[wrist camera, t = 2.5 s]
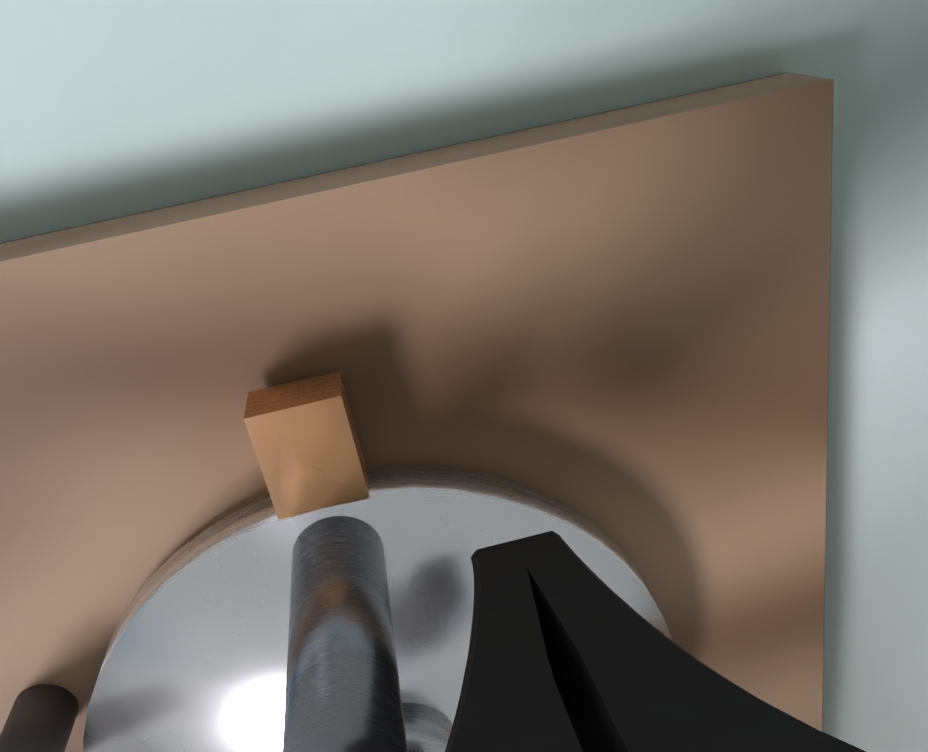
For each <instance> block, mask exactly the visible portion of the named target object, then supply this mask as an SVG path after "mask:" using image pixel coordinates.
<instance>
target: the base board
mask: <svg viewBox="0 0 928 752" xmlns="http://www.w3.org/2000/svg"><path fill="white" fill-rule="evenodd" d="M832 128H833V80H832V79H825V78H819V77H812V76H805V75H798V74H792V73H784V74H780V75H775V76H770V77H766V78H761V79H757V80H752V81H747V82H743V83H738V84H734V85H729V86H724V87H720V88H715V89H710V90H706V91H701V92H697V93H692V94H687V95H683V96H678V97H674V98H669V99H664V100H660V101H655V102H651V103H646V104H641V105H637V106H632V107H628V108H623V109H618V110H614V111H609V112H604V113H600V114H595V115H591V116H586V117H581V118H577V119H572V120H568V121H563V122H558V123H554V124H549V125H545V126H540V127H535V128H531V129H526V130H521V131H517V132H512V133H508V134H503V135H498V136H494V137H489V138H485V139H480V140H475V141H471V142H466V143H462V144H457V145H452V146H448V147H443V148H439V149H434V150H429V151H425V152H420V153H415V154H411V155H406V156H402V157H397V158H392V159H388V160H383V161H379V162H374V163H369V164H365V165H360V166H356V167H351V168H346V169H342V170H337V171H332V172H328V173H323V174H319V175H314V176H309V177H305V178H300V179H296V180H291V181H286V182H282V183H277V184H273V185H268V186H263V187H259V188H254V189H249V190H245V191H240V192H236V193H231V194H226V195H222V196H217V197H213V198H208V199H203V200H199V201H194V202H190V203H185V204H180V205H176V206H171V207H167V208H162V209H157V210H153V211H148V212H143V213H139V214H134V215H130V216H125V217H120V218H116V219H111V220H107V221H102V222H97V223H93V224H88V225H84V226H79V227H74V228H70V229H65V230H60V231H56V232H51V233H47V234H42V235H37V236H33V237H28V238H24V239H19V240H14V241H10V242H5V243H1V244H0V752H84V748H83V737H84V730H85V723H86V716H87V709H88V706H89V703H90V699H91V696H92V693H93V690H94V687H95V684H96V681H97V678H98V675H99V672H100V669H101V666H102V663H103V660H104V657H105V654H106V651H107V648H108V645H109V642H110V639H111V637H112V635H113V633H114V631H115V629H116V627H117V625H118V624H119V622H120V620H121V618H122V616H123V614H124V612H125V610H126V608H127V607H128V606H129V604H130V603H131V602H132V600H133V599H134V598H135V596H136V595H137V594H138V592H139V591H140V590H141V588H142V587H143V586H144V584H145V583H146V582H147V580H148V579H149V578H150V577H151V576H152V575H153V574H154V573H155V572H156V571H157V570H158V569H159V568H160V567H161V566H162V565H163V564H164V563H165V562H166V561H167V560H168V559H169V558H170V557H171V556H172V555H173V554H174V553H175V552H176V551H178V550H179V549H180V548H182V547H183V546H184V545H186V544H187V543H188V542H190V541H191V540H192V539H193V538H195V537H196V536H197V535H199V534H200V533H201V532H203V531H204V530H205V529H207V528H208V527H210V526H212V525H213V524H215V523H217V522H218V521H220V520H222V519H224V518H225V517H227V516H229V515H231V514H232V513H234V512H236V511H237V510H239V509H241V508H243V507H245V506H247V505H249V504H252V503H254V502H256V501H259V500H261V499H263V498H265V497H268V496H270V494H269V491H268V488H267V485H266V482H265V480H264V477H263V474H262V471H261V468H260V465H259V462H258V459H257V456H256V453H255V450H254V448H253V445H252V442H251V439H250V436H249V433H248V430H247V427H246V424H245V421H244V414H245V408H246V403H247V397H248V392H252V391H256V390H260V389H264V388H269V387H273V386H277V385H282V384H286V383H290V382H294V381H299V380H303V379H307V378H311V377H316V376H320V375H324V374H329V373H333V372H337V371H340V373H341V377H342V380H343V384H344V388H345V391H346V395H347V398H348V402H349V406H350V409H351V413H352V416H353V420H354V424H355V427H356V431H357V435H358V438H359V442H360V445H361V449H362V453H363V456H364V460H365V463H366V467H367V470H371V469H385V468H399V467H424V468H447V469H456V470H462V471H468V472H474V473H480V474H486V475H491V476H495V477H498V478H502V479H505V480H508V481H512V482H515V483H519V484H522V485H525V486H528V487H530V488H533V489H535V490H537V491H539V492H542V493H544V494H546V495H548V496H551V497H553V498H555V499H557V500H560V501H561V502H563V503H564V504H566V505H568V506H569V507H571V508H572V509H574V510H576V511H577V512H579V513H580V514H582V515H584V516H585V517H587V518H588V519H590V520H591V521H592V522H593V523H594V524H595V525H597V526H598V527H599V528H600V529H601V530H602V531H604V532H605V533H606V534H607V535H608V536H609V537H611V538H612V539H613V540H614V542H615V543H616V544H617V545H618V546H619V547H620V549H621V550H622V551H623V552H624V553H625V555H626V556H627V557H628V558H629V559H630V560H631V562H632V563H633V565H634V567H635V568H636V570H637V572H638V573H639V575H640V577H641V578H642V580H643V582H644V583H645V585H646V587H647V589H648V590H649V592H650V594H651V596H652V598H653V599H654V601H655V603H656V605H657V606H658V608H659V610H660V612H661V614H662V615H663V617H664V619H665V622H666V624H667V627H668V630H669V633H670V635H671V638H672V641H673V642H675V643H676V644H677V645H679V646H680V647H681V648H683V649H684V650H685V651H687V652H688V653H689V654H691V655H692V656H694V657H695V658H696V659H698V660H699V661H701V662H702V663H704V664H705V665H707V666H708V667H710V668H711V669H713V670H714V671H716V672H717V673H719V674H720V675H722V676H723V677H725V678H726V679H728V680H729V681H731V682H733V683H734V684H736V685H738V686H739V687H741V688H743V689H744V690H746V691H748V692H749V693H751V694H752V695H754V696H756V697H757V698H759V699H761V700H763V701H764V702H766V703H768V704H770V705H772V706H774V707H776V708H778V709H779V710H781V711H783V712H785V713H787V714H789V715H791V716H793V717H795V718H796V719H798V720H800V721H802V722H804V723H806V724H808V725H810V726H812V727H814V728H815V729H817V730H819V731H821V732H822V703H823V646H824V588H825V530H826V473H827V415H828V358H829V300H830V243H831V185H832Z"/></svg>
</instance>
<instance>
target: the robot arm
mask: <svg viewBox="0 0 928 752" xmlns="http://www.w3.org/2000/svg"><path fill="white" fill-rule="evenodd" d="M471 561H472V566H473V575H474V604H473V618H472V627H471V635H470V644H469V651H468V657H467V662H466V668H465V673H464V678H463V683H462V688H461V693H460V698H459V702H458V706H457V710H456V714H455V718H454V722H453V725H452V729H451V732H450V736H449V739H448V743H447V746H446V750H445V752H866V751H863V750H861V749H859V748H857V747H854V746H852V745H850V744H848V743H846V742H843V741H841V740H839V739H837V738H835V737H832V736H830V735H828V734H826V733H824V732H821V731H819V730H817V729H815V728H814V727H812V726H810V725H808V724H806V723H804V722H802V721H800V720H798V719H796V718H795V717H793V716H791V715H789V714H787V713H785V712H783V711H781V710H779V709H778V708H776V707H774V706H772V705H770V704H768V703H766V702H764V701H763V700H761V699H759V698H757V697H756V696H754V695H752V694H751V693H749V692H748V691H746V690H744V689H743V688H741V687H739V686H738V685H736V684H734V683H733V682H731V681H729V680H728V679H726V678H725V677H723V676H722V675H720V674H719V673H717V672H716V671H714V670H713V669H711V668H710V667H708V666H707V665H705V664H704V663H702V662H701V661H699V660H698V659H696V658H695V657H694V656H692V655H691V654H689V653H688V652H687V651H685V650H684V649H683V648H681V647H680V646H679V645H677V644H676V643H675V642H673V641H672V640H671V639H669V638H668V637H667V636H666V635H664V634H663V633H662V632H660V631H659V630H658V629H657V628H655V627H654V626H653V625H652V624H650V623H649V622H648V621H647V620H646V619H644V618H643V617H642V616H641V615H640V614H638V613H637V612H636V611H635V610H634V609H633V608H632V607H630V606H629V605H628V604H627V603H626V602H625V601H624V600H623V599H621V598H620V597H619V596H618V595H617V594H616V593H615V592H613V591H612V590H611V589H610V588H609V587H608V586H607V585H606V584H605V583H604V582H603V581H602V580H601V579H600V578H599V577H598V576H597V575H596V574H595V573H594V572H593V571H592V570H591V569H590V568H589V567H588V566H587V565H586V564H585V563H584V562H583V561H582V560H581V559H580V558H579V557H578V556H577V555H576V554H575V553H574V552H573V550H572V549H571V548H570V547H569V546H568V545H567V544H566V542H565V541H564V540H563V539H562V538H561V536H560V535H558V534H557V533H555V532H553V531H549V532H545V533H541V534H537V535H533V536H529V537H525V538H521V539H517V540H513V541H509V542H505V543H501V544H497V545H493V546H489V547H485V548H481V549H477V550H476V551H475V552H474V553H473V555H472V556H471Z"/></svg>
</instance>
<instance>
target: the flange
mask: <svg viewBox="0 0 928 752" xmlns="http://www.w3.org/2000/svg"><path fill="white" fill-rule="evenodd" d="M244 421H245V424H246V427H247V430H248V433H249V436H250V439H251V442H252V445H253V448H254V450H255V453H256V456H257V459H258V462H259V465H260V468H261V471H262V474H263V477H264V480H265V482H266V485H267V488H268V491H269V494H270V496H268V497H265V498H263V499H261V500H259V501H256V502H254V503H252V504H249V505H247V506H245V507H243V508H241V509H239V510H237V511H236V512H234V513H232V514H231V515H229V516H227V517H225V518H224V519H222V520H220V521H218V522H217V523H215V524H213V525H212V526H210V527H208V528H207V529H205V530H204V531H203V532H201V533H200V534H199V535H197V536H196V537H195V538H193V539H192V540H191V541H190V542H188V543H187V544H186V545H184V546H183V547H182V548H180V549H179V550H178V551H176V552H175V553H174V554H173V555H172V556H171V557H170V558H169V559H168V560H167V561H166V562H165V563H164V564H163V565H162V566H161V567H160V568H159V569H158V570H157V571H156V572H155V573H154V574H153V575H152V576H151V577H150V578H149V579H148V580H147V582H146V583H145V584H144V586H143V587H142V588H141V590H140V591H139V592H138V594H137V595H136V596H135V598H134V599H133V600H132V602H131V603H130V604H129V606H128V607H127V608H126V610H125V612H124V614H123V616H122V618H121V620H120V622H119V624H118V625H117V627H116V629H115V631H114V633H113V635H112V637H111V639H110V642H109V645H108V648H107V651H106V654H105V657H104V660H103V663H102V666H101V669H100V672H99V675H98V678H97V681H96V684H95V687H94V690H93V693H92V696H91V699H90V703H89V706H88V709H87V716H86V723H85V730H84V737H83V748H84V752H445V750H446V746H447V743H448V739H449V736H450V732H451V729H452V725H453V722H454V718H455V714H456V710H457V706H458V702H459V698H460V693H461V688H462V683H463V678H464V673H465V668H466V662H467V657H468V651H469V644H470V635H471V627H472V618H473V604H474V575H473V566H472V561H471V556H472V555H473V553H474V552H475V551H476V550H477V549H481V548H485V547H489V546H493V545H497V544H501V543H505V542H509V541H513V540H517V539H521V538H525V537H529V536H533V535H537V534H541V533H545V532H549V531H553V532H555V533H557V534H558V535H560V536H561V538H562V539H563V540H564V541H565V542H566V544H567V545H568V546H569V547H570V548H571V549H572V550H573V552H574V553H575V554H576V555H577V556H578V557H579V558H580V559H581V560H582V561H583V562H584V563H585V564H586V565H587V566H588V567H589V568H590V569H591V570H592V571H593V572H594V573H595V574H596V575H597V576H598V577H599V578H600V579H601V580H602V581H603V582H604V583H605V584H606V585H607V586H608V587H609V588H610V589H611V590H612V591H613V592H615V593H616V594H617V595H618V596H619V597H620V598H621V599H623V600H624V601H625V602H626V603H627V604H628V605H629V606H630V607H632V608H633V609H634V610H635V611H636V612H637V613H638V614H640V615H641V616H642V617H643V618H644V619H646V620H647V621H648V622H649V623H650V624H652V625H653V626H654V627H655V628H657V629H658V630H659V631H660V632H662V633H663V634H664V635H666V636H667V637H668V638H669V639H671V640H672V638H671V635H670V633H669V630H668V627H667V624H666V622H665V619H664V617H663V615H662V614H661V612H660V610H659V608H658V606H657V605H656V603H655V601H654V599H653V598H652V596H651V594H650V592H649V590H648V589H647V587H646V585H645V583H644V582H643V580H642V578H641V577H640V575H639V573H638V572H637V570H636V568H635V567H634V565H633V563H632V562H631V560H630V559H629V558H628V557H627V556H626V555H625V553H624V552H623V551H622V550H621V549H620V547H619V546H618V545H617V544H616V543H615V542H614V540H613V539H612V538H611V537H609V536H608V535H607V534H606V533H605V532H604V531H602V530H601V529H600V528H599V527H598V526H597V525H595V524H594V523H593V522H592V521H591V520H590V519H588V518H587V517H585V516H584V515H582V514H580V513H579V512H577V511H576V510H574V509H572V508H571V507H569V506H568V505H566V504H564V503H563V502H561V501H560V500H557V499H555V498H553V497H551V496H548V495H546V494H544V493H542V492H539V491H537V490H535V489H533V488H530V487H528V486H525V485H522V484H519V483H515V482H512V481H508V480H505V479H502V478H498V477H495V476H491V475H486V474H480V473H474V472H468V471H462V470H456V469H447V468H424V467H399V468H385V469H371V470H367V467H366V463H365V460H364V456H363V453H362V449H361V445H360V442H359V438H358V435H357V431H356V427H355V424H354V420H353V416H352V413H351V409H350V406H349V402H348V398H347V395H346V391H345V388H344V384H343V380H342V377H341V373H340V371H337V372H333V373H329V374H324V375H320V376H316V377H311V378H307V379H303V380H299V381H294V382H290V383H286V384H282V385H277V386H273V387H269V388H264V389H260V390H256V391H252V392H248V397H247V403H246V408H245V414H244Z"/></svg>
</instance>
